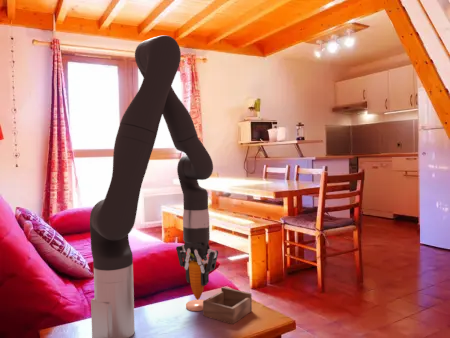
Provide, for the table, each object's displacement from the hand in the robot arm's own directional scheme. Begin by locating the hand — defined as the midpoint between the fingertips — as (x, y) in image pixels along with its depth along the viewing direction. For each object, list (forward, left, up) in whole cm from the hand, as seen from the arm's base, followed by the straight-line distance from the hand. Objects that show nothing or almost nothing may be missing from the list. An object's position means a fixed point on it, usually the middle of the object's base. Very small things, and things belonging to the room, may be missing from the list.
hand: (197, 283), depth 108 cm
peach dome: (0, 0, -7) cm, 7 cm away
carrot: (0, 0, -5) cm, 5 cm away
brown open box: (+1, -10, -7) cm, 12 cm away
